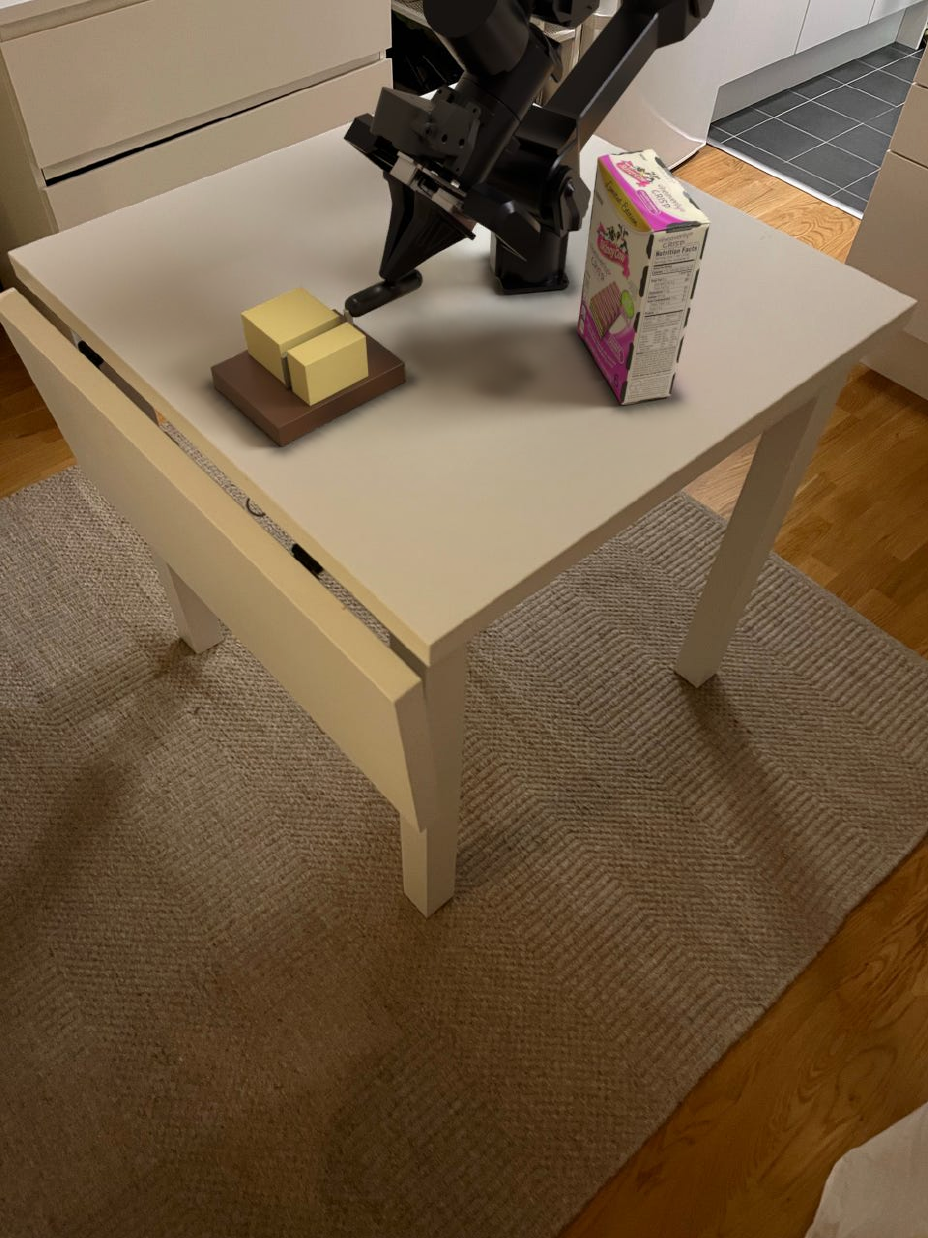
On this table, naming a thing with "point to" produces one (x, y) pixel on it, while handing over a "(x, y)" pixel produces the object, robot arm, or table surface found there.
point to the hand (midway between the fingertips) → (384, 279)
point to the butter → (306, 344)
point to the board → (284, 408)
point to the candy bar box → (639, 273)
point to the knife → (371, 303)
